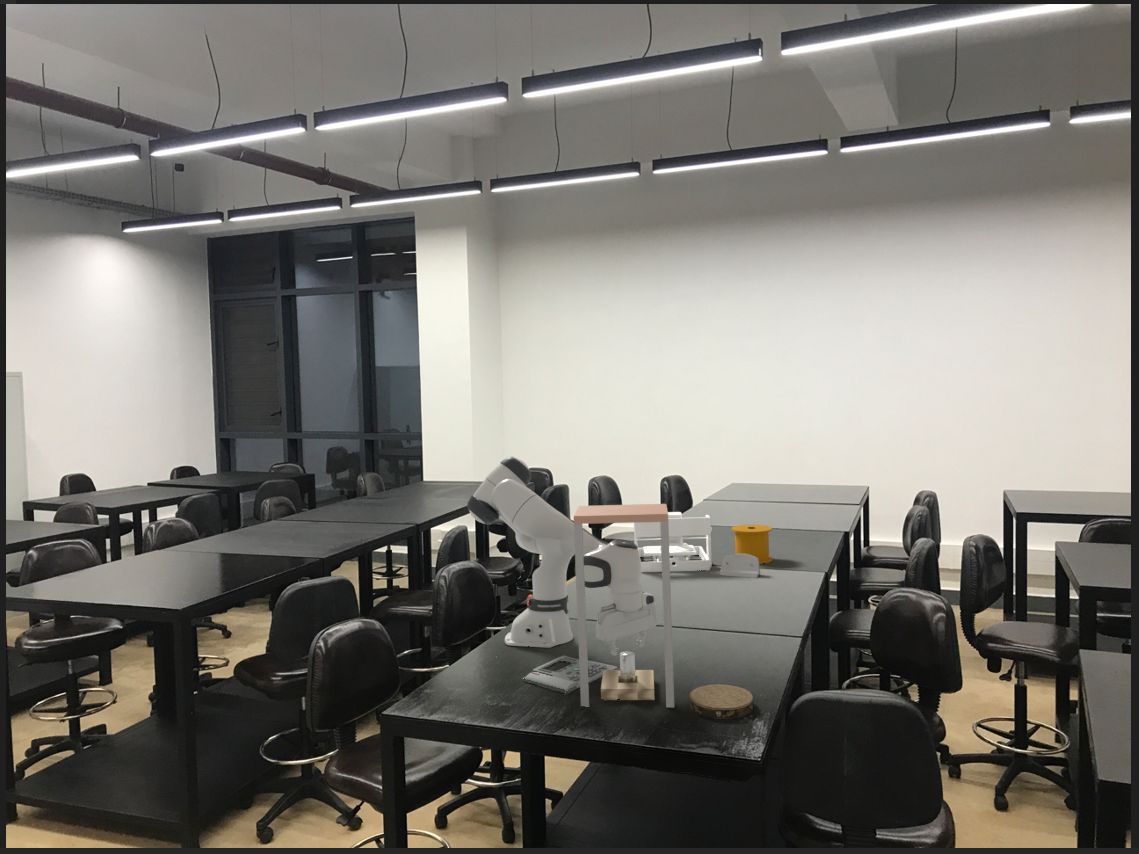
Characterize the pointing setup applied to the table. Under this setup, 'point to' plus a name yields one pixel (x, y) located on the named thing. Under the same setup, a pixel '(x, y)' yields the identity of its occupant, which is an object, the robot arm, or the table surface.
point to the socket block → (627, 686)
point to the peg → (627, 667)
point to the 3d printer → (676, 543)
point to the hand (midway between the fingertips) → (627, 650)
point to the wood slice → (721, 701)
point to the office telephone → (567, 673)
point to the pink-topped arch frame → (584, 517)
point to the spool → (753, 541)
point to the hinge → (740, 565)
